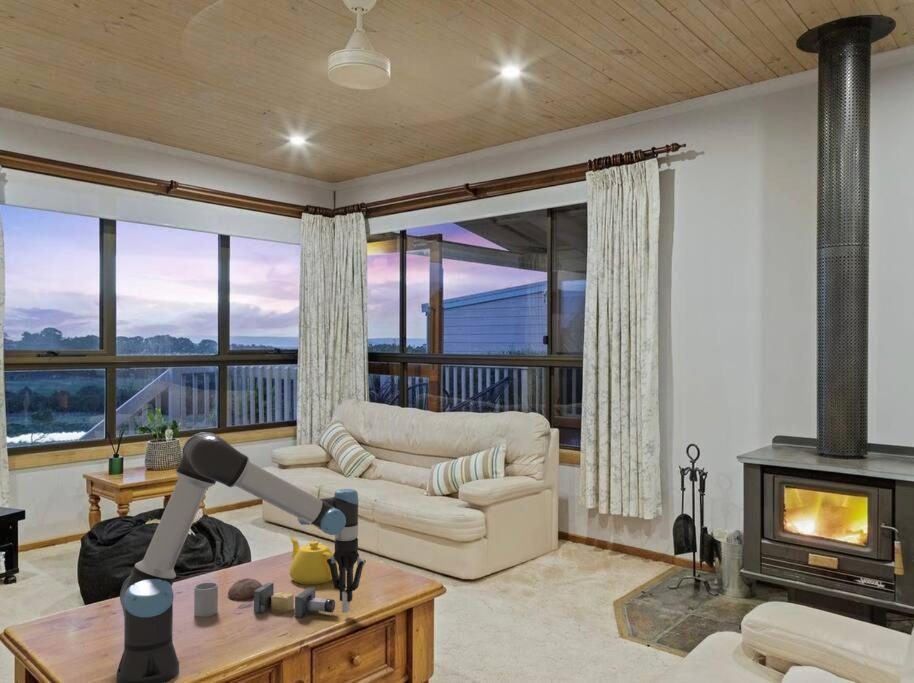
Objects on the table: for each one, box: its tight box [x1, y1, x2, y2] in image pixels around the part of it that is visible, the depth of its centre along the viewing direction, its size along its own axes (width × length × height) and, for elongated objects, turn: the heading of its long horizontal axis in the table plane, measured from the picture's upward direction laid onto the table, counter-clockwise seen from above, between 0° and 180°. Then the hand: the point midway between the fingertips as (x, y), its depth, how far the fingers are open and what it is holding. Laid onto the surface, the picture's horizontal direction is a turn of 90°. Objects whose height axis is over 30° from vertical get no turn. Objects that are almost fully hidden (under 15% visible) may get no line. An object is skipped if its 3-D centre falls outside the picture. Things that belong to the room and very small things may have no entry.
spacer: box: [270, 591, 295, 614], centre depth 228 cm, size 4×6×5 cm, turn 75°
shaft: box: [306, 597, 336, 614], centre depth 225 cm, size 12×4×4 cm, turn 75°
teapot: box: [289, 537, 339, 586], centre depth 262 cm, size 25×18×14 cm
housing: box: [253, 582, 316, 619], centre depth 228 cm, size 18×9×7 cm, turn 75°
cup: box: [193, 581, 219, 618], centre depth 226 cm, size 7×10×9 cm
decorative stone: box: [227, 577, 263, 601], centre depth 243 cm, size 12×12×6 cm
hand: (346, 611), depth 222 cm, fingers closed
